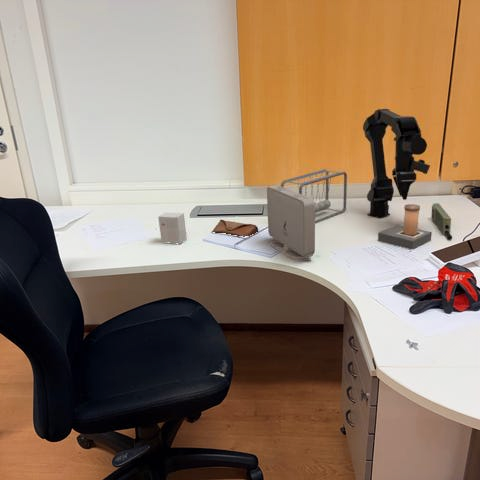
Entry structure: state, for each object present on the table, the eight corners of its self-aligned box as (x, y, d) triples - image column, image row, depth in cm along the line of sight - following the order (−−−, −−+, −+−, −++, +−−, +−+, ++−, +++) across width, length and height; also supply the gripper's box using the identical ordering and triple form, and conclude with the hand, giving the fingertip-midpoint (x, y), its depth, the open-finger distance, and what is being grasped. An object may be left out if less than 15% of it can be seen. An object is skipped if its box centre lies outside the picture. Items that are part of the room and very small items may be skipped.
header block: (377, 240, 155) (378, 231, 154) (396, 232, 162) (397, 223, 161) (412, 249, 146) (413, 239, 145) (430, 240, 153) (431, 230, 152)
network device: (263, 240, 162) (260, 186, 155) (284, 236, 165) (283, 183, 158) (298, 264, 140) (297, 202, 133) (322, 258, 143) (322, 198, 136)
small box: (187, 239, 168) (184, 212, 164) (180, 244, 163) (177, 217, 159) (168, 238, 170) (165, 211, 167) (161, 243, 165) (157, 216, 162)
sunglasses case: (208, 232, 174) (212, 216, 174) (217, 236, 180) (221, 220, 180) (247, 239, 164) (251, 221, 165) (256, 243, 170) (260, 226, 171)
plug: (399, 243, 152) (401, 206, 148) (406, 239, 155) (409, 203, 150) (412, 246, 148) (415, 209, 144) (419, 242, 151) (422, 205, 147)
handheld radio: (439, 219, 174) (455, 241, 151) (430, 219, 175) (445, 241, 152) (440, 202, 172) (456, 222, 149) (431, 203, 173) (446, 222, 150)
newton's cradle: (301, 229, 172) (300, 184, 166) (281, 224, 179) (279, 180, 173) (346, 211, 191) (347, 170, 185) (326, 207, 198) (327, 168, 192)
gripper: (433, 154, 146) (431, 201, 150) (424, 151, 164) (422, 193, 167) (397, 156, 149) (396, 202, 152) (392, 152, 166) (391, 194, 170)
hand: (403, 197), depth 160 cm, fingers open, 9 cm apart
